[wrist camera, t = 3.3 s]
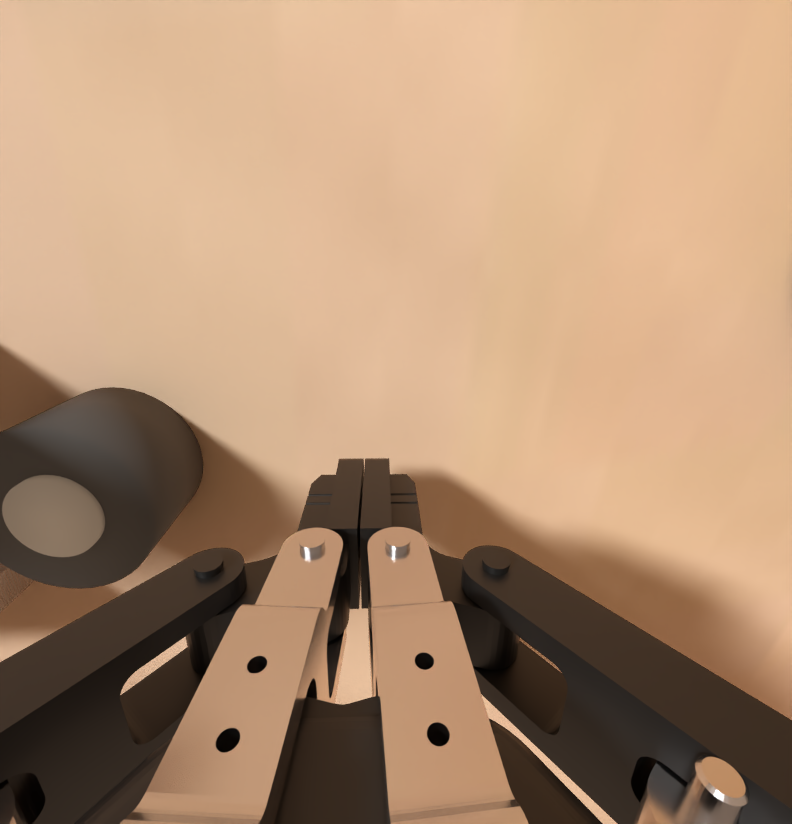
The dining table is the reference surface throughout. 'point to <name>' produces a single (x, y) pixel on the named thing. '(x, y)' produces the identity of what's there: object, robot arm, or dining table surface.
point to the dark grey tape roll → (93, 486)
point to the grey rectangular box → (11, 585)
